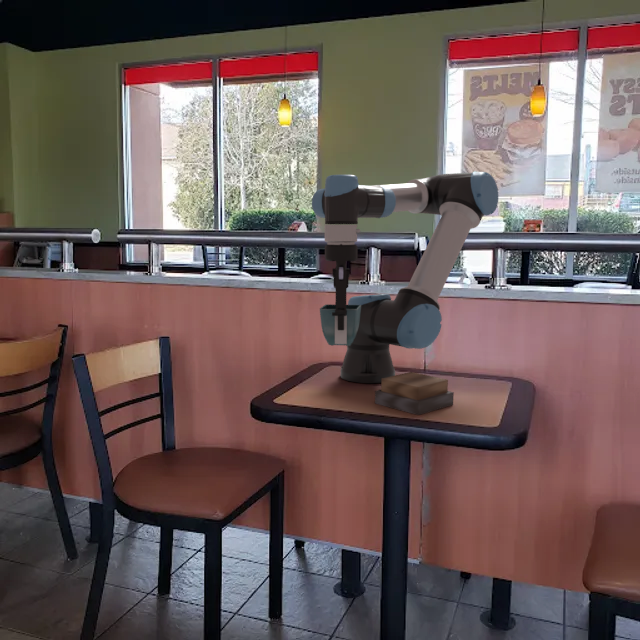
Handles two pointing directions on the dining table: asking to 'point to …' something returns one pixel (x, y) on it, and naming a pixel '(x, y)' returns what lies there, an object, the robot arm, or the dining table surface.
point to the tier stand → (414, 393)
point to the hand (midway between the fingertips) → (340, 340)
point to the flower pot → (329, 322)
